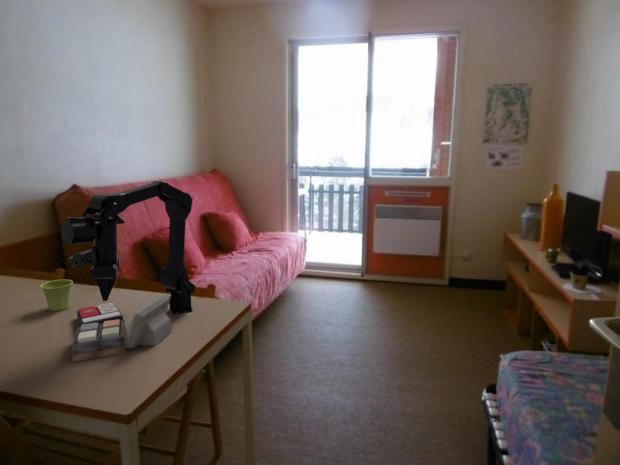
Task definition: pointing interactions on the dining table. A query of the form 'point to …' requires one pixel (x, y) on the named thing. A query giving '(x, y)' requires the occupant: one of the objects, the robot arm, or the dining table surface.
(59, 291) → the plant pot
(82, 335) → the key cream
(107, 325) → the key terracotta
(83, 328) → the key slate
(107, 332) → the key sage
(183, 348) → the dining table surface
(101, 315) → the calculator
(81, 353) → the keypad
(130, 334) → the digital clock
